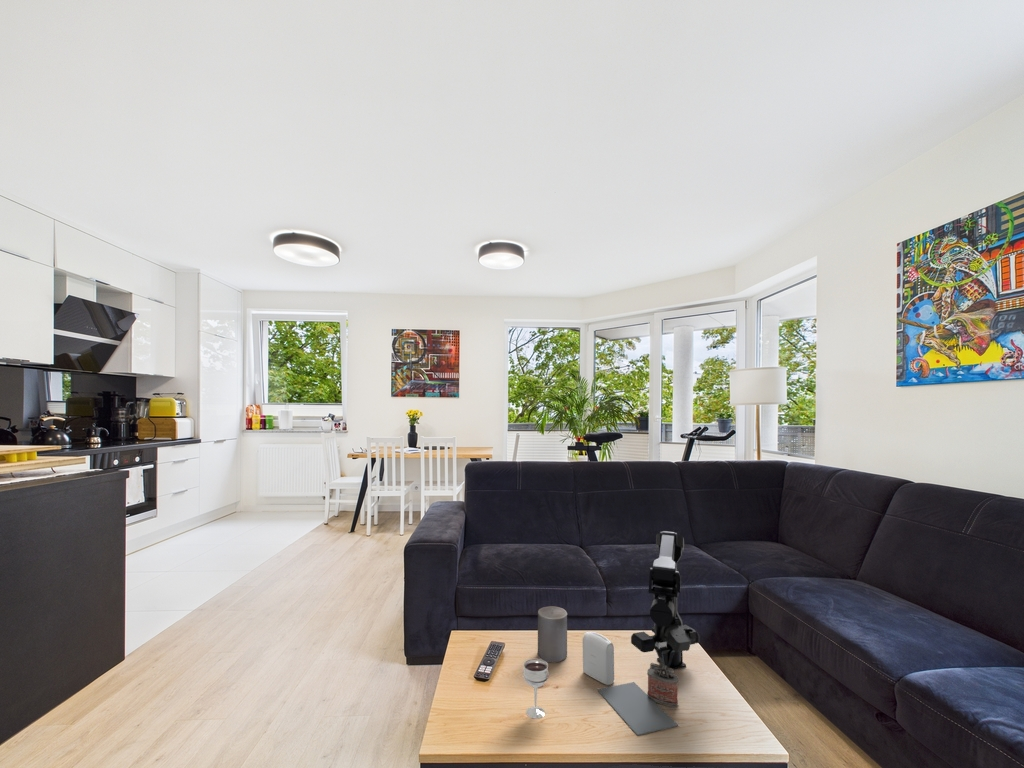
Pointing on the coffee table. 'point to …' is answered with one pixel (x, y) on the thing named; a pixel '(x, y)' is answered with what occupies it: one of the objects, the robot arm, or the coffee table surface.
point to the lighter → (662, 685)
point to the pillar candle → (552, 634)
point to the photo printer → (598, 657)
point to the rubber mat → (637, 708)
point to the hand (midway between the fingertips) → (665, 670)
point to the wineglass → (535, 682)
